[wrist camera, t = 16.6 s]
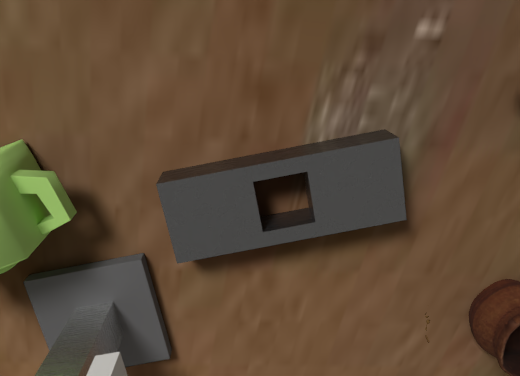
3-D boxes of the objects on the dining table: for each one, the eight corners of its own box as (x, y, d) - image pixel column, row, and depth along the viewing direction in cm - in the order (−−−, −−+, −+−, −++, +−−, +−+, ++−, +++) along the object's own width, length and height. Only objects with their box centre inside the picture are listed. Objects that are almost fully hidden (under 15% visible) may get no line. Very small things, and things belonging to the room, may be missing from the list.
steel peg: (74, 308, 48) (5, 423, 33) (113, 301, 48) (60, 413, 33) (86, 341, 49) (24, 465, 35) (123, 334, 49) (77, 455, 35)
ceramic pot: (413, 378, 54) (440, 424, 48) (434, 237, 49) (467, 267, 43) (559, 375, 56) (605, 419, 49) (594, 237, 51) (650, 266, 44)
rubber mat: (29, 274, 48) (23, 281, 46) (143, 253, 48) (140, 259, 46) (65, 369, 52) (60, 379, 50) (171, 349, 51) (169, 358, 50)
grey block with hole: (162, 172, 45) (156, 184, 41) (385, 129, 45) (398, 137, 41) (181, 245, 48) (177, 263, 44) (392, 205, 48) (406, 219, 44)
